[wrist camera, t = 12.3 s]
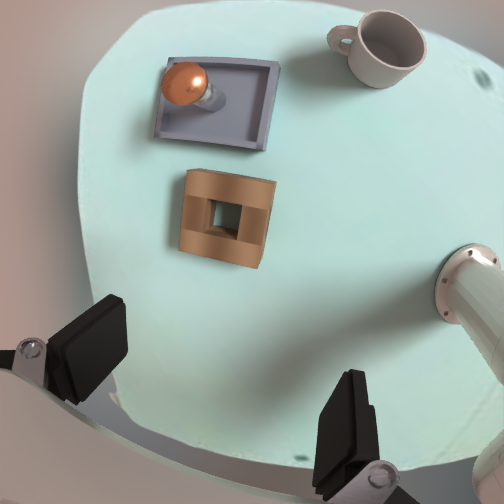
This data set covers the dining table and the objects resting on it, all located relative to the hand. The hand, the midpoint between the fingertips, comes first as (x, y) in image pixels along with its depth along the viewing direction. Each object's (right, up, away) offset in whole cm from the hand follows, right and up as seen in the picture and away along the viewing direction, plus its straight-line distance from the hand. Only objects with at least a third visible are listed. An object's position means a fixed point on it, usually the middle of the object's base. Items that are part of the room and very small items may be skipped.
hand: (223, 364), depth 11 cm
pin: (-3, +23, +21) cm, 31 cm away
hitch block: (-2, +9, +26) cm, 27 cm away
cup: (+15, +28, +16) cm, 36 cm away
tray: (-3, +23, +21) cm, 32 cm away
